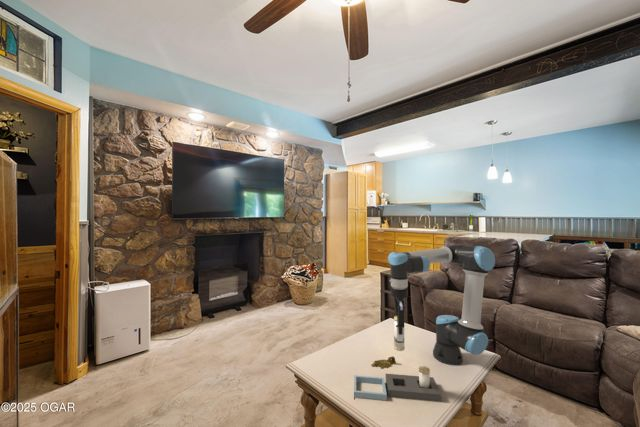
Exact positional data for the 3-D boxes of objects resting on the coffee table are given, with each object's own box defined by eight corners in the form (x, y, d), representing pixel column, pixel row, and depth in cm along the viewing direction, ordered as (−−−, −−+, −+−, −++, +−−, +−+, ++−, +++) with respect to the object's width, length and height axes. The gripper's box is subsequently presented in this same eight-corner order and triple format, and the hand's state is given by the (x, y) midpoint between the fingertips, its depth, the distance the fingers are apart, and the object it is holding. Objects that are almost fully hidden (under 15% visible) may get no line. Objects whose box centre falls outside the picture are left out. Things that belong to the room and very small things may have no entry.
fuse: (428, 388, 122) (428, 366, 122) (431, 395, 117) (430, 372, 117) (417, 387, 122) (417, 365, 122) (420, 394, 118) (420, 371, 118)
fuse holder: (433, 385, 125) (433, 377, 125) (441, 403, 113) (441, 394, 113) (385, 381, 128) (385, 373, 128) (388, 398, 116) (388, 389, 116)
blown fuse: (403, 346, 123) (403, 316, 123) (405, 351, 119) (405, 320, 119) (393, 345, 124) (393, 315, 124) (394, 350, 119) (394, 319, 119)
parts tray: (383, 384, 125) (383, 377, 125) (386, 402, 114) (386, 394, 114) (354, 382, 127) (354, 375, 127) (353, 399, 116) (353, 391, 116)
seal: (376, 376, 134) (400, 369, 140) (376, 367, 134) (401, 361, 139) (366, 364, 143) (390, 358, 148) (367, 356, 143) (390, 351, 148)
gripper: (388, 282, 130) (388, 329, 130) (393, 292, 113) (393, 347, 113) (404, 282, 129) (404, 330, 129) (411, 293, 112) (411, 348, 112)
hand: (399, 338), depth 121 cm, fingers closed on blown fuse, 4 cm apart
